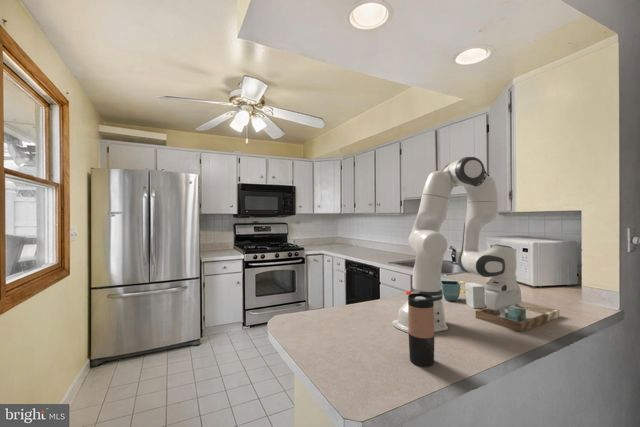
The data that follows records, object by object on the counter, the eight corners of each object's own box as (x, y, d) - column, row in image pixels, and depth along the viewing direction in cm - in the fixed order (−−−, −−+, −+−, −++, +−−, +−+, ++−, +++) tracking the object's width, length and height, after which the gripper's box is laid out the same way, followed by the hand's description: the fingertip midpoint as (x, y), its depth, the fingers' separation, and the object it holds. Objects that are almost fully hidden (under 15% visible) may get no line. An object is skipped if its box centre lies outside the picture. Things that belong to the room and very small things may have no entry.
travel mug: (428, 354, 94) (427, 293, 94) (439, 367, 87) (438, 299, 87) (405, 355, 94) (404, 293, 94) (413, 367, 86) (412, 300, 86)
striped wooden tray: (520, 332, 111) (520, 324, 111) (475, 317, 126) (475, 310, 126) (559, 317, 126) (559, 310, 126) (514, 305, 141) (514, 299, 141)
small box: (485, 308, 138) (484, 286, 138) (473, 308, 138) (473, 286, 139) (476, 303, 146) (476, 282, 146) (465, 303, 146) (464, 282, 147)
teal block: (517, 322, 121) (517, 311, 121) (502, 317, 126) (502, 307, 126) (525, 320, 123) (525, 309, 123) (511, 315, 129) (511, 305, 129)
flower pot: (442, 301, 150) (442, 284, 150) (440, 296, 159) (440, 280, 159) (461, 302, 148) (460, 285, 148) (458, 297, 156) (457, 281, 156)
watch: (457, 291, 170) (456, 281, 170) (460, 291, 171) (460, 280, 171) (465, 293, 164) (464, 282, 165) (469, 292, 165) (468, 282, 166)
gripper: (509, 279, 129) (510, 310, 129) (482, 285, 119) (482, 319, 119) (525, 281, 124) (526, 314, 124) (497, 288, 114) (498, 323, 114)
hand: (504, 316), depth 121 cm, fingers closed
